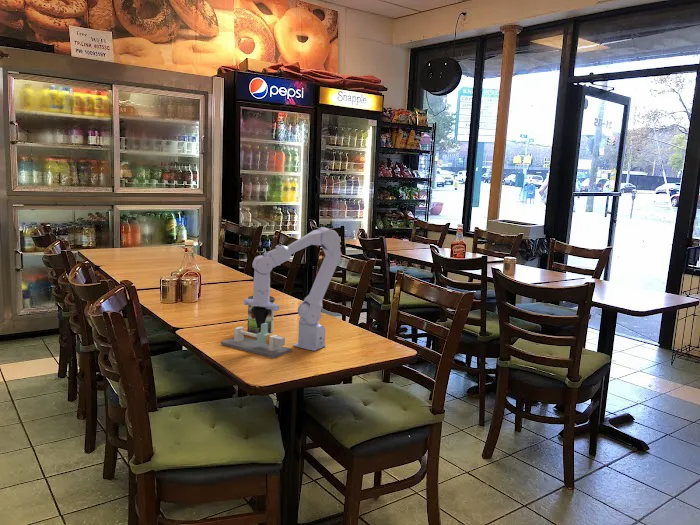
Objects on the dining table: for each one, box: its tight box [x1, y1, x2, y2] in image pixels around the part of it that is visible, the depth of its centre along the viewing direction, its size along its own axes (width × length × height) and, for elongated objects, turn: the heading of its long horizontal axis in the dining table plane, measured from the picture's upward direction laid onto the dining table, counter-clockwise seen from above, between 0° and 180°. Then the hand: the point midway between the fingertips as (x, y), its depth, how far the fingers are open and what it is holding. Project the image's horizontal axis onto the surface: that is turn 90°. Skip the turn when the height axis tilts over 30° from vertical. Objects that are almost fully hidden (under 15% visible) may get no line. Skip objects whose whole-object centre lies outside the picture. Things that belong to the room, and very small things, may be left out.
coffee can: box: [246, 295, 276, 334], centre depth 218 cm, size 10×10×14 cm
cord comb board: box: [220, 325, 292, 359], centre depth 199 cm, size 24×10×6 cm, turn 60°
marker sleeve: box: [256, 323, 269, 344], centre depth 197 cm, size 4×3×7 cm
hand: (260, 327), depth 198 cm, fingers closed
